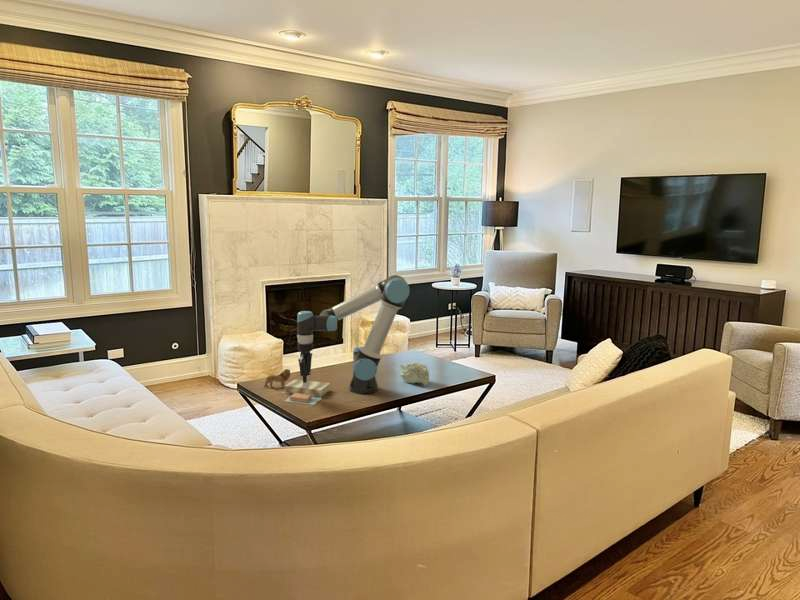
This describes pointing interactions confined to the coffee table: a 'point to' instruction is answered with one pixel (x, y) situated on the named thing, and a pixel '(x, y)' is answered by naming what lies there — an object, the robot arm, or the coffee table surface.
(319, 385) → the plate
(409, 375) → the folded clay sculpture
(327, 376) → the coffee table surface
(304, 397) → the tile
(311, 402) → the mat
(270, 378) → the lion figurine
